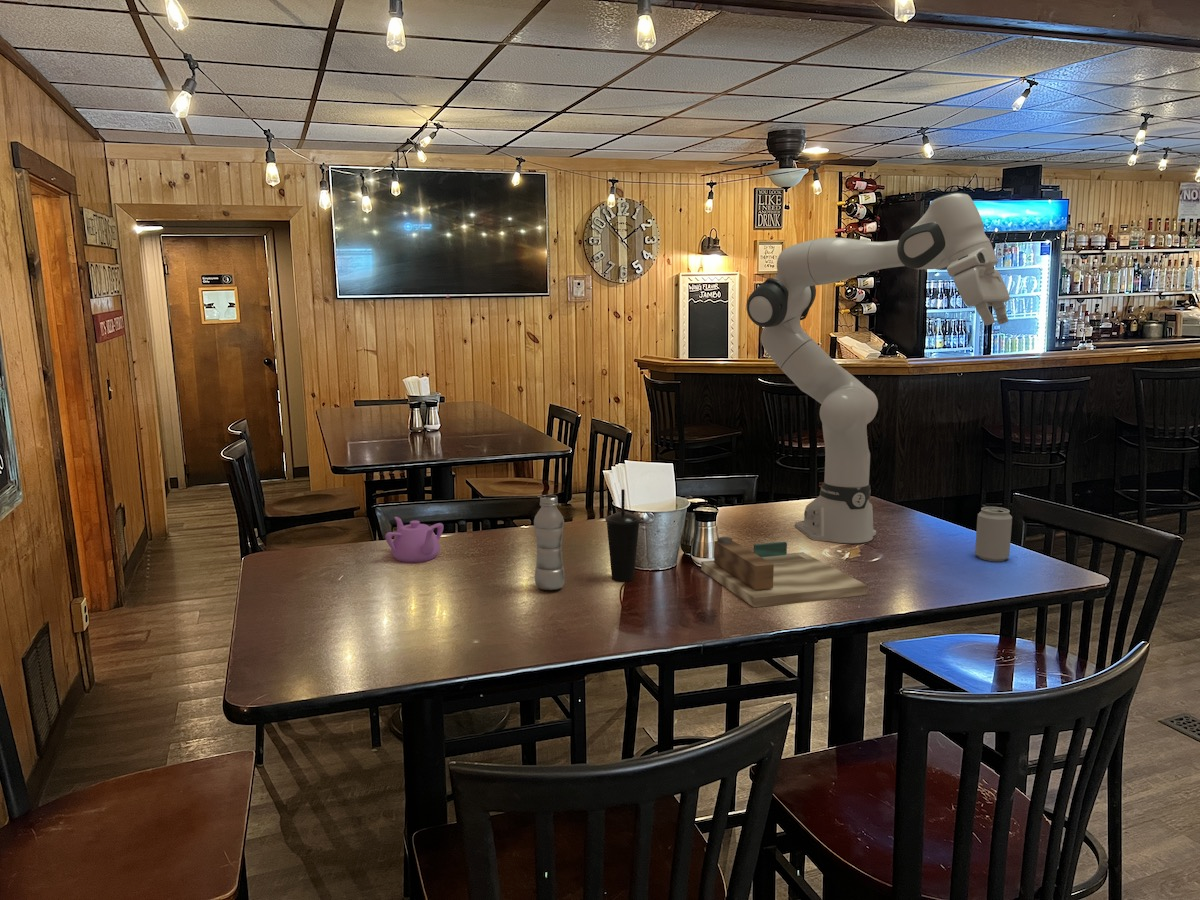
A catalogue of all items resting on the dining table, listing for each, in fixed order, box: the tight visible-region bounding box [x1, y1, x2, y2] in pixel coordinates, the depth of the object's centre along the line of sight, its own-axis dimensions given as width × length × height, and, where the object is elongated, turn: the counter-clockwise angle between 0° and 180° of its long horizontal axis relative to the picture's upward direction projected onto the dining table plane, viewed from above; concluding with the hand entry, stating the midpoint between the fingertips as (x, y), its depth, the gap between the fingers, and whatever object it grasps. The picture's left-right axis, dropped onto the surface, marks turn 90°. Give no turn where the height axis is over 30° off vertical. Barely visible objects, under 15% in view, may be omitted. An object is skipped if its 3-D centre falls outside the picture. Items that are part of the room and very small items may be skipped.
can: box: [974, 506, 1013, 562], centre depth 206 cm, size 8×8×12 cm
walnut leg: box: [713, 536, 774, 590], centre depth 187 cm, size 21×4×6 cm, turn 17°
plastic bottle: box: [533, 494, 566, 591], centre depth 183 cm, size 6×7×20 cm
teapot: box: [384, 516, 444, 564], centre depth 208 cm, size 12×14×9 cm
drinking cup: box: [604, 488, 641, 583], centre depth 190 cm, size 8×8×20 cm
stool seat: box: [700, 541, 869, 608], centre depth 189 cm, size 26×26×5 cm
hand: (997, 323), depth 185 cm, fingers open, 8 cm apart
